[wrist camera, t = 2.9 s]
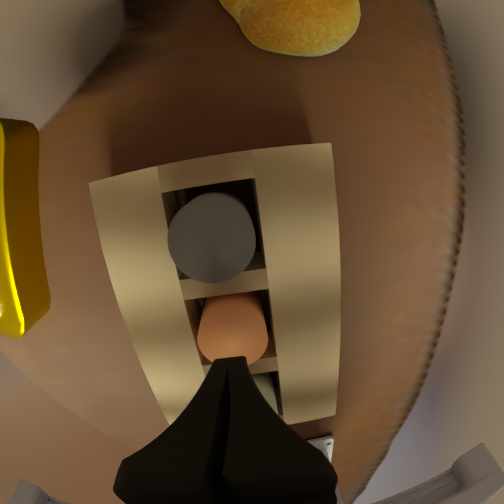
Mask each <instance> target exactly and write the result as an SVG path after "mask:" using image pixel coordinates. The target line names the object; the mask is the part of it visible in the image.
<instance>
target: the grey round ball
mask: <svg viewBox="0 0 504 504" xmlns="http://www.w3.org/2000/svg"><path fill="white" fill-rule="evenodd" d="M167 241H168V249H169V253H170V255H171V258H172V260H173V261H174V263H175V265H176V266H177V267H178V268H179V269H180V270H181V271H182V272H183V273H184V274H185V275H187V276H188V277H190V278H192V279H194V280H196V281H199V282H203V283H221V282H225V281H228V280H231V279H233V278H235V277H236V276H238V275H239V274H240V273H242V272H243V271H244V270H245V268H246V267H247V266H248V265H249V263H250V261H251V259H252V257H253V255H254V251H255V246H256V237H255V231H254V227H253V224H252V221H251V217H250V214H249V211H248V209H247V207H246V206H245V204H244V203H243V202H242V201H241V200H240V199H239V198H238V197H236V196H235V195H233V194H231V193H229V192H226V191H220V190H213V191H208V192H205V193H202V194H200V195H198V196H197V197H196V198H194V199H193V200H192V201H190V202H189V203H188V204H186V205H185V206H184V207H182V208H181V209H180V210H179V211H178V212H177V214H176V215H175V216H174V218H173V220H172V222H171V224H170V227H169V230H168V237H167Z"/></svg>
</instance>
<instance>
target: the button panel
mask: <svg viewBox="0 0 504 504" xmlns="http://www.w3.org/2000/svg"><path fill="white" fill-rule="evenodd" d="M249 178H252V184H253V192H254V199H255V207H256V214H257V222H258V229H259V237H260V245H261V251H257V252H254V255H253V257H252V259H251V261H250V263H249V265H248V266H247V267H246V268H245V270H244V271H243V272H242V273H240V274H239V275H238V276H236V277H235V278H233V279H231V280H228V281H225V282H221V283H203V282H199V281H196V280H194V279H192V278H190V277H188V276H187V275H185V274H184V273H183V272H182V271H181V270H180V269H179V268H178V267H177V266H176V265H175V263H174V261H173V260H172V258H171V255H170V253H169V249H168V241H167V237H168V230H169V227H170V224H171V222H172V220H173V218H174V216H175V215H176V214H177V212H178V206H177V200H176V194H175V190H180V189H185V188H191V187H197V186H202V185H209V184H215V183H221V182H228V181H235V180H242V179H249ZM89 188H90V194H91V199H92V205H93V210H94V215H95V220H96V224H97V229H98V233H99V238H100V242H101V246H102V250H103V254H104V257H105V261H106V265H107V269H108V272H109V276H110V279H111V282H112V286H113V289H114V292H115V295H116V298H117V302H118V305H119V308H120V311H121V313H122V316H123V319H124V322H125V325H126V328H127V330H128V333H129V336H130V338H131V341H132V344H133V346H134V349H135V351H136V354H137V356H138V358H139V361H140V363H141V366H142V368H143V370H144V373H145V375H146V377H147V379H148V382H149V384H150V386H151V388H152V390H153V392H154V395H155V397H156V399H157V401H158V403H159V405H160V407H161V409H162V411H163V413H164V415H165V417H166V419H167V421H168V423H169V424H170V425H171V424H172V423H173V422H174V421H175V420H176V419H177V417H178V416H179V415H180V414H181V413H182V412H183V410H184V409H185V408H186V407H187V405H188V404H189V402H190V401H191V400H192V398H193V397H194V395H195V394H196V392H197V391H198V389H199V387H200V386H201V384H202V382H203V381H204V379H205V377H206V375H207V373H208V371H209V369H210V367H211V365H212V363H213V362H211V361H210V360H208V359H207V358H206V357H205V356H204V355H203V353H202V352H201V350H200V348H199V346H198V341H197V337H198V331H199V326H200V321H201V316H200V312H199V308H198V304H197V299H196V298H204V297H212V296H220V295H227V294H235V293H242V292H249V291H256V290H263V289H266V292H267V300H268V308H269V316H270V324H271V330H267V334H268V344H267V348H266V350H265V352H264V353H263V355H262V356H261V357H260V358H259V359H258V360H256V361H255V362H253V363H251V364H249V365H248V368H249V371H250V373H251V374H258V373H265V372H272V371H276V374H277V383H278V387H275V388H274V393H275V398H276V404H277V410H278V415H279V417H280V418H281V419H282V420H283V421H284V422H285V423H286V424H287V425H289V424H295V423H300V422H306V421H311V420H315V419H320V418H325V417H329V416H333V415H335V414H336V403H337V391H338V376H339V358H340V331H341V269H340V241H339V223H338V208H337V195H336V184H335V173H334V164H333V155H332V147H331V143H319V144H304V145H292V146H282V147H272V148H263V149H254V150H246V151H239V152H232V153H225V154H219V155H212V156H206V157H200V158H195V159H189V160H184V161H179V162H173V163H169V164H164V165H159V166H154V167H150V168H145V169H141V170H137V171H133V172H128V173H124V174H120V175H116V176H113V177H109V178H105V179H101V180H98V181H94V182H91V183H89Z"/></svg>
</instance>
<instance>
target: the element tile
mask: <svg viewBox="0 0 504 504" xmlns="http://www.w3.org/2000/svg"><path fill="white" fill-rule="evenodd" d="M37 131H38V130H37V128H36V127H35V126H34V124H33V123H30V122H28V121H23V120H14V119H5V118H0V334H3V335H6V336H9V337H12V338H19V337H22V336H24V335H25V334H26V333H27V332H28V331H29V330H30V329H31V328H32V327H33V326H34V325H35V324H36V323H37V322H38V321H39V320H40V319H41V318H42V317H43V316H44V315H45V314H46V313H47V312H48V310H49V309H50V302H51V299H50V291H49V286H48V281H47V275H46V269H45V263H44V256H43V248H42V239H41V229H40V216H39V194H38V165H39V137H38V132H37Z"/></svg>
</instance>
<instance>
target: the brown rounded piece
mask: <svg viewBox="0 0 504 504" xmlns="http://www.w3.org/2000/svg"><path fill="white" fill-rule="evenodd" d="M197 341H198V346H199V348H200V350H201V352H202V353H203V355H204V356H205V357H206V358H207V359H208V360H210V361H211V362H213V361H214V360H215V359H219V358H228V357H237V356H245V357H246V359H247V364H248V365H249V364H251V363H253V362H255V361H256V360H258V359H259V358H260V357H261V356H262V355H263V353H264V352H265V350H266V348H267V344H268V334H267V329H266V324H265V318H264V313H263V308H262V303H261V300H260V298H259V296H258V294H257V293H256V292H255V291H249V292H242V293H235V294H227V295H220V296H212V297H206V299H205V302H204V306H203V311H202V316H201V321H200V326H199V331H198V337H197Z"/></svg>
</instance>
